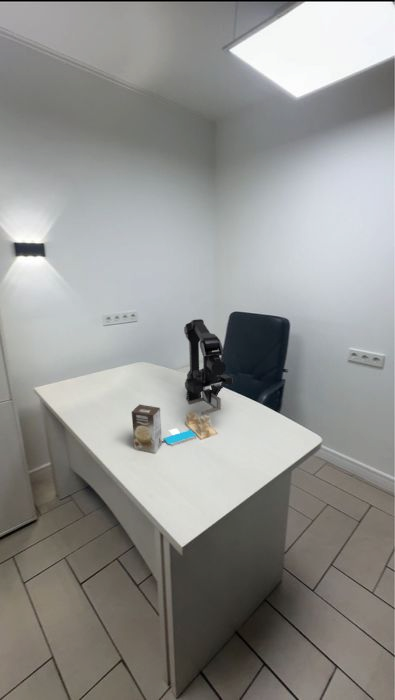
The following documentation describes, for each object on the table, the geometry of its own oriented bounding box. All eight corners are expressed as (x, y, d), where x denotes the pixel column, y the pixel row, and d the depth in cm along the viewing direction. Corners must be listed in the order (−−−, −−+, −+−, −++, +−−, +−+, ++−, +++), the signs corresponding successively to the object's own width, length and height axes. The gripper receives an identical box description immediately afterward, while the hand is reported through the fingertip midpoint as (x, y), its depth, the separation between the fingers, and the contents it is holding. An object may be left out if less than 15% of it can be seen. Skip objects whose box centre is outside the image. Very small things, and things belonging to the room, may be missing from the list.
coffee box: (133, 449, 117) (130, 411, 113) (142, 440, 123) (138, 404, 119) (155, 454, 114) (152, 414, 110) (163, 444, 120) (160, 407, 116)
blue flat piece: (193, 424, 135) (193, 421, 135) (207, 437, 125) (206, 433, 125) (150, 437, 126) (149, 433, 126) (161, 452, 116) (160, 448, 116)
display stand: (200, 419, 138) (200, 409, 137) (217, 434, 126) (217, 423, 125) (184, 424, 134) (184, 414, 133) (200, 439, 123) (200, 428, 121)
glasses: (205, 399, 135) (204, 388, 134) (220, 409, 125) (220, 398, 124) (188, 404, 131) (187, 393, 130) (202, 415, 121) (202, 403, 120)
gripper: (218, 358, 136) (218, 391, 141) (180, 366, 127) (182, 400, 132) (233, 364, 127) (233, 399, 131) (194, 373, 118) (195, 410, 122)
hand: (211, 402), depth 129 cm, fingers closed on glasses
